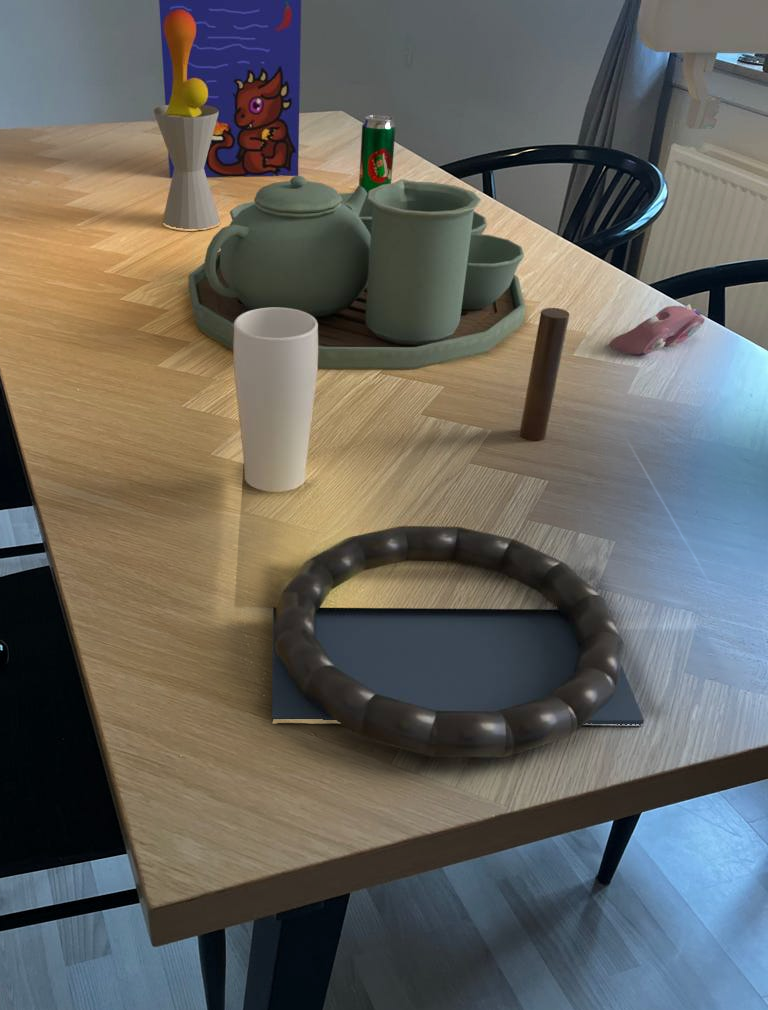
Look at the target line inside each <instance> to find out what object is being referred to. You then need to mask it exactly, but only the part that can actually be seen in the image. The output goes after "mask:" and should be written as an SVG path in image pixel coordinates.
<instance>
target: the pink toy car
mask: <svg viewBox="0 0 768 1010" xmlns="http://www.w3.org/2000/svg"><path fill="white" fill-rule="evenodd" d="M705 321H706V320H705V318H704V316H702V314H701V313H700V311H698V310H697V309H696V308H692V306H691V304H690V303H689V304H687V305H685V306H682V305H670V306H666V307H663V308H662V309H661V310H659V311H658V312H657V313H656V314H655V315H653V316H651V317H649V318H647V319H645V320H644V321H642V322H640V323H639V324H638V325H637V326H636V327H635V328H632V329H630V330H629V331H627V332H625V333H623V334H620V335H618V336H615V337H614V338H613V339H612V340H611V341H610V342H609V343H608V346H609V347H611V348H612V349H614V350H615V351H618V352H621V353H623V354H626V355H631V356H639V355H642V354H644V355H648V354H651V353H652V352H655V351H656V352H657V351H660V350H662V349H663V348H664V347H666V348H669V347H671V346H674V345H675V344H680V343H682V342H684V341H685V340H687V339H688V338H690V337H692V336H693V335H694V334H695V333H696V332H697V331H698V330H699V329H700V328H701V327H702V326H703V324H704V323H705Z"/></svg>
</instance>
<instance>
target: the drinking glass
mask: <svg viewBox="0 0 768 1010" xmlns="http://www.w3.org/2000/svg"><path fill="white" fill-rule="evenodd" d="M232 353H233V355H232V356H233V359H232V360H233V375H234V385H235V393H236V403H237V410H238V411H237V413H238V422H239V429H240V438H241V447H242V448H241V449H242V458H243V467H244V468H243V469H244V470H243V471H244V480H245V482H246V483H247V484H248V485H249V486H250V487H252V488H254V489H257V490H259V491H263V492H271V493H272V492H273V493H282V492H289V491H291V490H294V489H297V488H299V487H300V486H302V485H303V484H304V483H305V481H306V479H307V465H308V455H309V446H310V439H311V438H310V437H311V430H312V421H313V413H314V405H315V404H314V403H315V398H316V389H317V381H318V369H319V368H318V323H317V320H316V319H315V318H314V317H313V316H311V315H310V314H308V313H306V312H303V311H300V310H296V309H290V308H281V307H269V308H260V309H255V310H251V311H248V312H245V313H243V314H241V315H240V316H238V317H237V318H236V320H235V321H234V337H233V351H232Z"/></svg>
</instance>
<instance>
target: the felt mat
mask: <svg viewBox="0 0 768 1010" xmlns="http://www.w3.org/2000/svg"><path fill="white" fill-rule="evenodd" d="M272 611H273V613H272V614H273V616H272V617H273V619H272V678H271V679H272V681H271V683H272V686H271V692H272V694H271V720H272V719H323V720H335V719H334V718H333V717H331V716H330V715H328V714H327V713H325V712H324V711H322V710H321V709H319V708H318V707H316V706H315V705H313V704H312V703H310V702H309V701H308V700H306V699H305V697H304V696H303V695H302V693H301V692H300V690H299V688H298V687H297V685H296V684H295V682H294V680H293V679H292V677H291V676H290V674H289V672H288V671H287V669H286V668H285V666H284V664H283V663H282V661H281V660H280V658H279V657H278V655H277V652H276V648H275V631H276V606H273V610H272ZM316 639H317V640H318V642H319V643H320V645H321V646H322V648H323V649H324V650H325V652H326V653H327V655H328V656H329V658H330V659H331V661H332V662H333V664H334V665H335V667H336V668H338V669H339V670H341V671H342V672H344V673H345V674H347V675H349V676H350V677H352V678H353V679H355V680H356V681H358V682H360V683H361V684H363V685H364V686H366V687H367V688H369V689H370V690H372V691H374V692H375V693H377V694H379V695H382V696H386V697H389V698H393V699H396V700H400V701H403V702H407V703H411V704H414V705H418V706H421V707H425V708H428V709H432V710H435V711H499V710H503V709H506V708H509V707H513V706H516V705H520V704H523V703H526V702H530V701H533V700H536V699H540V698H543V697H546V696H547V695H548V694H550V693H551V692H552V691H553V690H554V689H555V688H557V687H558V686H559V685H560V684H561V683H563V682H564V681H565V680H566V679H567V678H568V677H570V676H571V675H572V674H573V671H574V668H575V664H576V661H577V657H578V654H579V650H580V648H579V645H578V642H577V640H576V637H575V634H574V631H573V629H572V626H571V623H570V621H569V620H568V619H567V618H566V617H565V616H564V615H563V614H562V613H561V612H559V611H558V610H557V608H555V609H554V608H553V609H552V608H550V609H549V608H546V609H544V608H543V609H542V608H541V609H540V608H435V607H434V608H432V607H431V608H430V607H429V608H425V607H421V608H420V607H413V608H412V607H411V608H410V607H320V608H319V609H318V611H317V612H316ZM633 692H634V691H633V689H632V687H631V685H630V682H629V680H628V677H627V675H626V672H625V670H624V667H623V666H622V664H621V667H620V671H619V676H618V680H617V684H616V689H615V692H614V695H613V697H612V698H611V699H610V701H609V702H608V703H607V704H605V705H604V706H603V707H602V708H601V709H600V710H599V711H598V712H597V713H596V714H594V715H593V716H592V717H591V718H590V719H589V720H588V721H587V722H586V723H588V724H591V723H592V724H617V725H618V724H620V725H622V724H625V725H627V724H630V725H632V724H635V725H636V724H639V725H641V724H643V725H644V722H645V718H644V715H643V714H642V712H641V709H640V707H639V704H638V702H637V699H636V696H635V695H634V693H633ZM586 723H585V724H586Z"/></svg>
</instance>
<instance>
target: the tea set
mask: <svg viewBox="0 0 768 1010" xmlns="http://www.w3.org/2000/svg"><path fill="white" fill-rule="evenodd" d="M481 202H482V199H481V198H480V197H479V196H478V195H477V194H476V193H475V192H474V191H472V190H469V189H466V188H463V187H460V186H458V185H453V184H446V183H439V182H432V181H415V180H409V179H401V178H400V179H399V180H397V181H394V182H393V183H392V182H391V184H385V185H381V186H379V187H377V188H374V189H372V190H370V191H369V192H368V193H367V192H366V190H365V189H364V188H363V187H361V186H359V185H357V187H356V189H355V190H354V191H353V192H341V193H339V192H338V190H337V189H336V188H334V187H333V186H330V185H327V184H325V183H323V182H316V181H309V180H307V179H306V178H305V177H304V176H302V175H298V176H293V177H292V178H291V179H290V180H285V181H277V182H273V183H270V184H268V185H265V186H262V187H261V188H260V189H259V190H258V191H257V192H256V195H255V196H254V198H253V201H250V202H245V203H241V204H238V205H236V206H235V207H234V208H233V209H231V210H230V211H229V214H230V217H231V222H230V223H229V225H227V226H224V227H221V229H220V230H218V232H217V233H216V234H215V235H214V236H213V237H212V239H211V241H210V243H209V245H208V246H207V249H206V253H205V258H204V263H202V264H201V265H199V266H198V268H196V269H195V270H193V271H192V272H190V273H189V274H188V279H187V280H188V292H189V299H190V304H191V310H192V314H193V320H194V323H195V325H196V327H197V328H198V331H199V332H201V333H202V334H205V335H206V336H208V337H209V338H211V339H212V340H214V341H216V342H218V343H219V344H221V345H222V346H224V347H226V348H227V349H229V350H230V351H232V352H233V337H234V321H235V320H236V318H237V317H238V316H240V315H241V314H243V313H245V312H248V311H251V310H255V309H260V308H269V307H281V308H290V309H296V310H300V311H303V312H306V313H308V314H310V315H311V316H313V317H314V318H315V319H316V320H317V323H318V369H320V370H413V371H414V370H418V369H422V368H427V367H430V366H435V365H439V364H443V363H448V362H453V361H457V360H461V359H465V358H470V357H473V356H477V355H482V354H486V353H488V352H489V351H490V350H492V349H493V348H494V347H495V346H497V345H498V344H499V343H501V342H502V341H503V340H505V339H506V338H507V337H508V336H510V335H511V334H512V333H513V332H515V331H516V330H517V329H518V328H519V327H521V326H522V325H523V323H524V318H525V313H526V304H525V301H524V296H523V291H522V287H521V283H520V278H519V276H518V275H516V271H517V269H518V267H519V265H520V263H521V262H522V261H523V259H524V258H525V253H524V250H523V247H522V246H521V245H519V244H517V243H516V242H513V241H511V240H510V239H506V238H503V237H499V236H496V235H490V234H483V233H484V232H485V230H486V229H487V227H488V222H487V221H488V220H487V217H485V216H484V215H481V214H480V213H478V212H476V211H475V210H476V209H477V207H479V205H480V204H481Z"/></svg>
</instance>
